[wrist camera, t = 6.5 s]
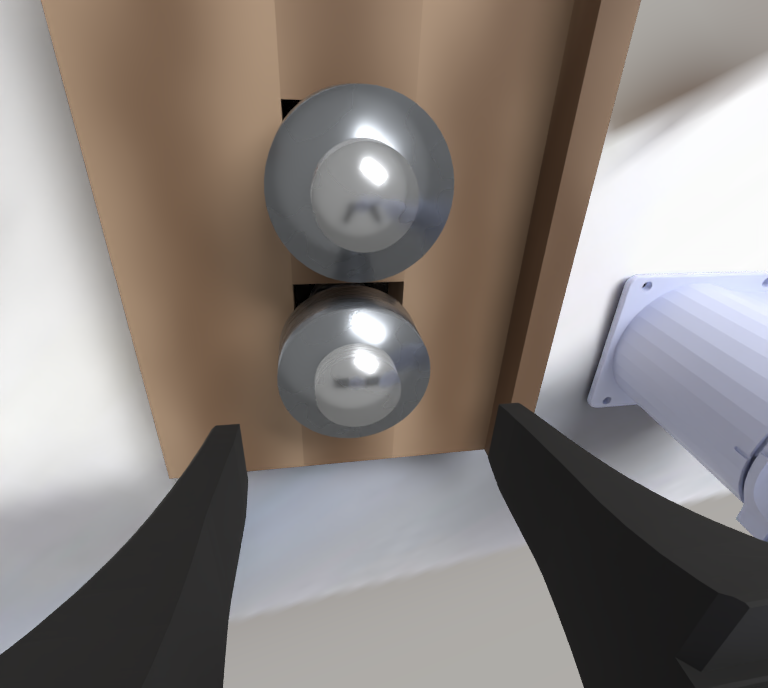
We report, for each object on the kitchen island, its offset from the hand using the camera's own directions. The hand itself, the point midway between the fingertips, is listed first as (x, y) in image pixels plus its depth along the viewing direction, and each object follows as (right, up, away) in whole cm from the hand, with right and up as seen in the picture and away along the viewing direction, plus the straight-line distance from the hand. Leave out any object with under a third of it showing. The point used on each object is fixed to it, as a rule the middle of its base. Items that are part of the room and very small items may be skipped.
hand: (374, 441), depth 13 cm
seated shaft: (-1, +10, +5) cm, 11 cm away
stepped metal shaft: (-2, +5, +8) cm, 9 cm away
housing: (-2, +7, +7) cm, 10 cm away
